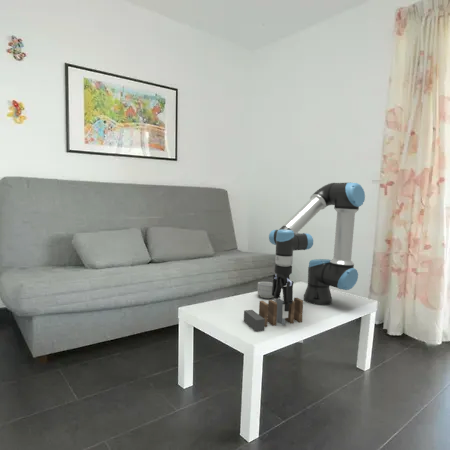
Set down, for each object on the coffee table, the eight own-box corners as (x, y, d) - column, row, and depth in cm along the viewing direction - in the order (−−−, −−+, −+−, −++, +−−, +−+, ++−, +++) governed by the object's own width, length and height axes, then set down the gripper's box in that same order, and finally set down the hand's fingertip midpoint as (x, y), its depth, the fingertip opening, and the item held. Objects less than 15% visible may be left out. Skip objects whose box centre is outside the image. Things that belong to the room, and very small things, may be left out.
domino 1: (261, 322, 150) (262, 300, 149) (267, 326, 146) (268, 304, 145) (258, 322, 150) (259, 301, 149) (263, 327, 145) (265, 304, 144)
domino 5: (295, 318, 157) (296, 297, 156) (302, 322, 152) (303, 300, 151) (292, 318, 156) (294, 297, 155) (299, 322, 152) (300, 301, 151)
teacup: (253, 296, 190) (253, 282, 189) (267, 293, 196) (267, 279, 195) (270, 302, 178) (271, 288, 178) (284, 299, 185) (285, 285, 184)
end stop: (251, 320, 152) (252, 309, 152) (264, 330, 141) (264, 319, 141) (243, 321, 151) (244, 310, 150) (255, 331, 140) (256, 320, 139)
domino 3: (278, 320, 154) (280, 299, 153) (284, 324, 149) (286, 302, 148) (275, 320, 153) (277, 299, 152) (281, 324, 148) (282, 302, 147)
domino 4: (287, 319, 155) (288, 298, 154) (293, 323, 151) (294, 301, 150) (284, 319, 155) (285, 298, 154) (290, 323, 150) (291, 301, 149)
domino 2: (270, 321, 152) (271, 299, 151) (276, 325, 147) (277, 303, 146) (267, 321, 151) (268, 300, 150) (272, 325, 147) (274, 303, 146)
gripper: (265, 260, 156) (263, 308, 158) (288, 269, 138) (285, 323, 140) (279, 260, 159) (277, 307, 161) (303, 268, 141) (300, 322, 143)
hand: (280, 315), depth 151 cm, fingers open, 6 cm apart
